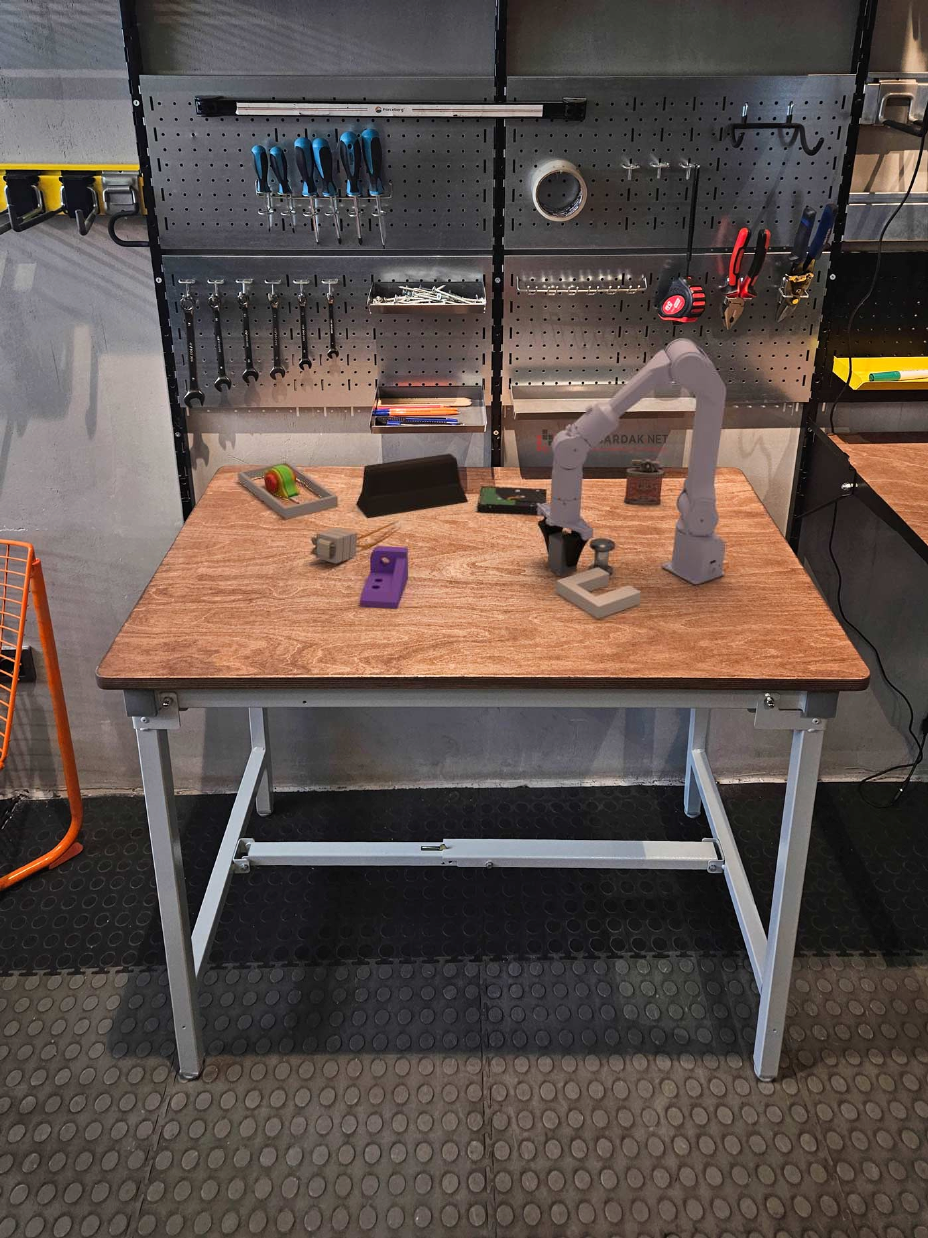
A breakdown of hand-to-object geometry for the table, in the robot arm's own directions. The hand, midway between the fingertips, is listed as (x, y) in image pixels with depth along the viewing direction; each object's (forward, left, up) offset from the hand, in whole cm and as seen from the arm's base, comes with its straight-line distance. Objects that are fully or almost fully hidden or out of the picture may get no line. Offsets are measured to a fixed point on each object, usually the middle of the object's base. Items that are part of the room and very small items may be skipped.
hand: (562, 560), depth 197 cm
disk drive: (+31, -10, -3) cm, 33 cm away
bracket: (+11, +33, -2) cm, 35 cm away
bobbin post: (-5, -6, -2) cm, 8 cm away
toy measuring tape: (+62, +28, -2) cm, 68 cm away
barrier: (+44, +8, -2) cm, 45 cm away
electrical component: (+32, +28, -2) cm, 42 cm away
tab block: (0, 0, -2) cm, 2 cm away
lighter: (+16, -36, -2) cm, 39 cm away
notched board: (-13, +2, -2) cm, 13 cm away
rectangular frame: (+64, +28, -2) cm, 70 cm away
